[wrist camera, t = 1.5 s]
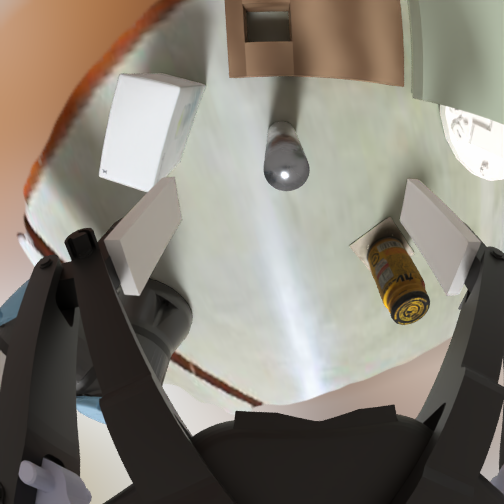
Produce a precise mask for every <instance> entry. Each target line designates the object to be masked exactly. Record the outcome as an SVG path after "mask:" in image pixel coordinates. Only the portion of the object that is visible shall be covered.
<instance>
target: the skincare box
mask: <svg viewBox="0 0 504 504" xmlns="http://www.w3.org/2000/svg"><path fill="white" fill-rule="evenodd" d="M205 88H206V85H205V84H201V83H198V82H194V81H190V80H187V79H183V78H179V77H175V76H171V75H168V74H164V73H157V74H155V73H142V74H125V73H122V74H120V75H119V77H118V81H117V85H116V89H115V93H114V97H113V101H112V105H111V110H110V114H109V119H108V124H107V129H106V134H105V139H104V145H103V150H102V156H101V162H100V169H99V177H101V178H104V179H107V180H111V181H114V182H117V183H120V184H123V185H126V186H129V187H132V188H135V189H138V190H141V191H144V192H148V191H149V190H150V189H151V188H152V187H153V186H154V185H155V184H156V183H157V182H158V181H159V180H160V179H161V178H164V177H166V176H167V175H168V174H169V173H170V172H171V171H172V170H173V169H174V168H175V167H176V166H177V165H178V164H179V163H180V162H181V159H182V155H183V152H184V149H185V146H186V142H187V139H188V136H189V133H190V130H191V127H192V124H193V121H194V118H195V115H196V112H197V109H198V106H199V104H200V101H201V98H202V95H203V93H204V90H205Z"/></svg>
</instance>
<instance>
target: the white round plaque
mask: <svg viewBox="0 0 504 504" xmlns="http://www.w3.org/2000/svg"><path fill="white" fill-rule="evenodd" d="M440 116H441V120H442V124H443V129H444V133H445V138H446V140H447V141H448V143H449V145H450V147H451V149H452V151H453V153H454V155H455V157H456V159H458V160H459V161H460V162H461V163H462V164H463V165H464V166H465V167H466V168H467V169H468V170H469V171H470V172H471V173H472V174H474V175H476V176H478V177H481V178H484V179H486V180H489V181H493V180H501V179H504V125H503V124H501V123H498V122H495V121H493V120H490V119H487V118H484V117H481V116H478V115H475V114H472V113H469V112H465V111H462V110H459V109H455V108H452V107H448V106H444V105H440Z"/></svg>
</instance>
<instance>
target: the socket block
mask: <svg viewBox="0 0 504 504" xmlns="http://www.w3.org/2000/svg"><path fill="white" fill-rule="evenodd" d="M270 11H288V16H289V32H290V41H275V42H248V34H247V18H246V13H247V12H270ZM225 14H226V31H227V47H228V62H229V78H244V77H269V76H298V77H323V78H337V79H348V80H357V81H365V82H373V83H379V84H386V85H393V86H402V87H404V47H403V29H402V16H401V6H400V0H225Z"/></svg>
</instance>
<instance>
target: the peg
mask: <svg viewBox="0 0 504 504" xmlns="http://www.w3.org/2000/svg"><path fill="white" fill-rule="evenodd" d="M264 175H265V178H266V180H267V181H268V183H269V184H270V185H271V186H273V187H274V188H276V189H278V190H282V191H291V190H295V189H297V188H299V187H301V186H302V185H303V184H304V183H305V182H306V180H307V178H308V176H309V164H308V161H307V158H306V156H305V153H304V151H303V148H302V146H301V144H300V141H299V139H298V136H297V134H296V132H295V129H294V128H293V126H292V125H291V124H289V123H288V122H285V121H278V122H275V123H273V124H272V125H271V126H270V128H269V130H268V136H267V144H266V153H265V161H264Z"/></svg>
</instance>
